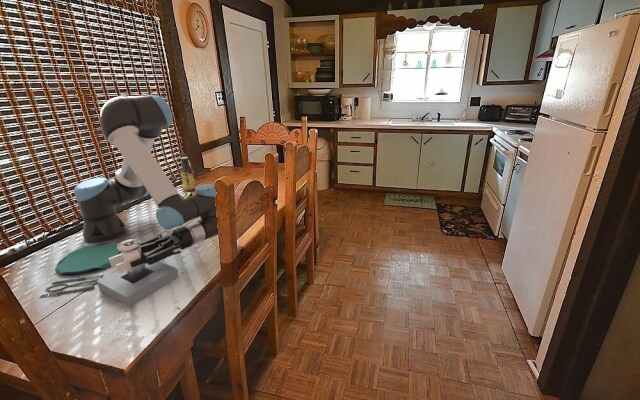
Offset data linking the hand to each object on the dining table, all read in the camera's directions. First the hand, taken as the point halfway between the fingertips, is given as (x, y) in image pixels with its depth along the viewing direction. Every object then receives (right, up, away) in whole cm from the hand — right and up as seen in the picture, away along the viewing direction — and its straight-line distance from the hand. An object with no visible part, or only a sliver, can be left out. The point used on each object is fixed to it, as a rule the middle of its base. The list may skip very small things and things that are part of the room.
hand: (113, 265), depth 89 cm
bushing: (+4, -5, +6) cm, 9 cm away
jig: (+4, -7, +7) cm, 11 cm away
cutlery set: (-21, -5, +17) cm, 27 cm away
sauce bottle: (-17, +25, +92) cm, 97 cm away
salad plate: (-15, +18, +74) cm, 77 cm away
